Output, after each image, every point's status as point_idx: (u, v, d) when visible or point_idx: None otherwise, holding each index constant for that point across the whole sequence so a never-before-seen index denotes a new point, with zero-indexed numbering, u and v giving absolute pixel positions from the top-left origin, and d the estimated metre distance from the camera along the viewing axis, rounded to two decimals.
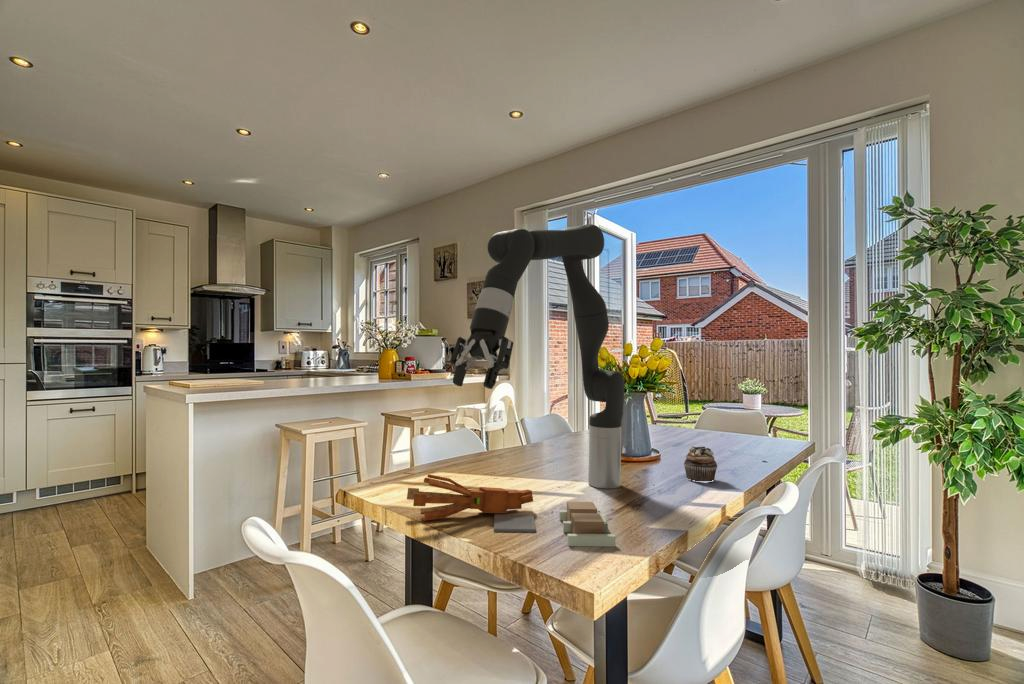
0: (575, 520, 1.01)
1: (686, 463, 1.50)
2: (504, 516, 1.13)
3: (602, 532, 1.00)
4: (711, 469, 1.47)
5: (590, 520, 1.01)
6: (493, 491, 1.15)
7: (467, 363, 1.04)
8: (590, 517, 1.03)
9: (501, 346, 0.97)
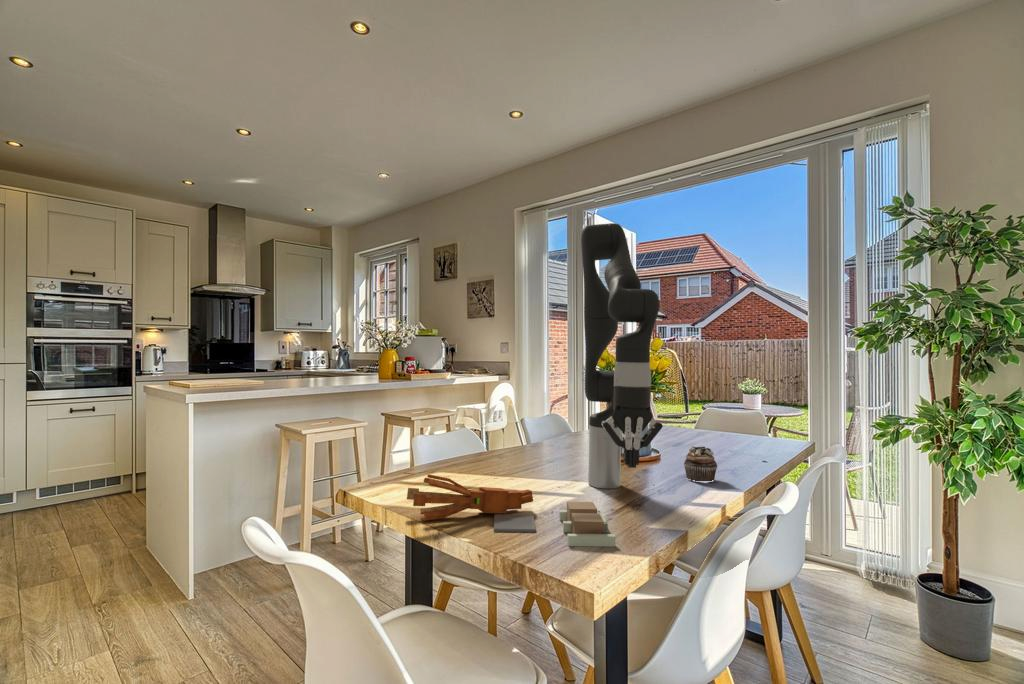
0: (575, 520, 1.01)
1: (686, 463, 1.50)
2: (504, 516, 1.13)
3: (602, 532, 1.00)
4: (711, 469, 1.47)
5: (590, 520, 1.01)
6: (493, 491, 1.14)
7: None
8: (590, 517, 1.03)
9: (654, 430, 1.02)
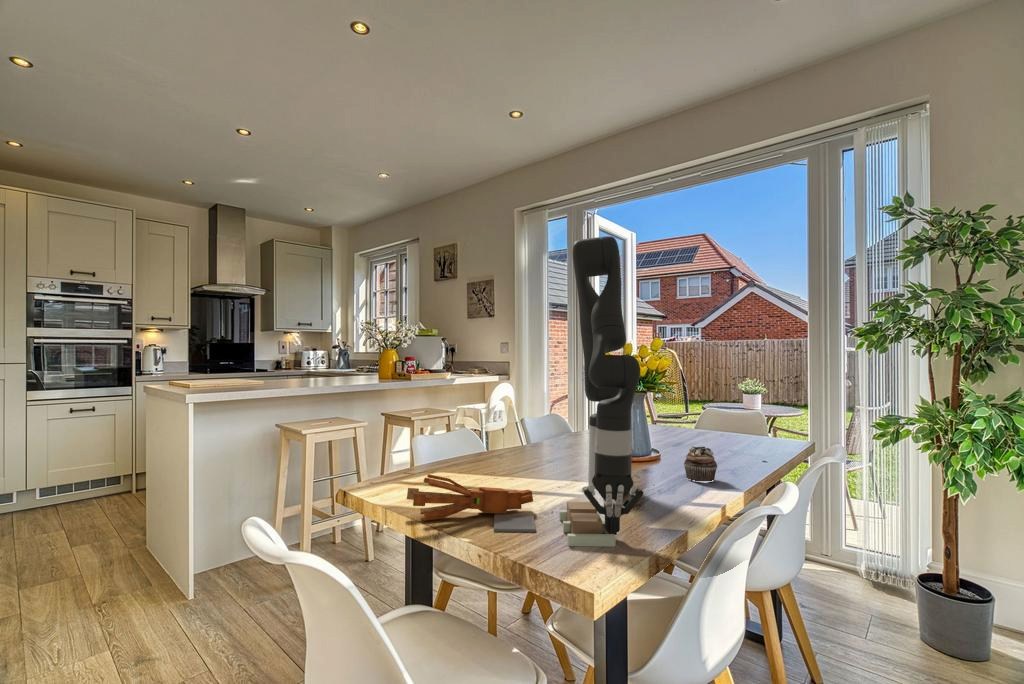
0: (573, 520, 1.01)
1: (686, 463, 1.50)
2: (504, 516, 1.13)
3: (600, 532, 1.00)
4: (711, 469, 1.47)
5: (588, 520, 1.01)
6: (493, 491, 1.14)
7: None
8: (589, 516, 1.03)
9: (635, 498, 1.01)
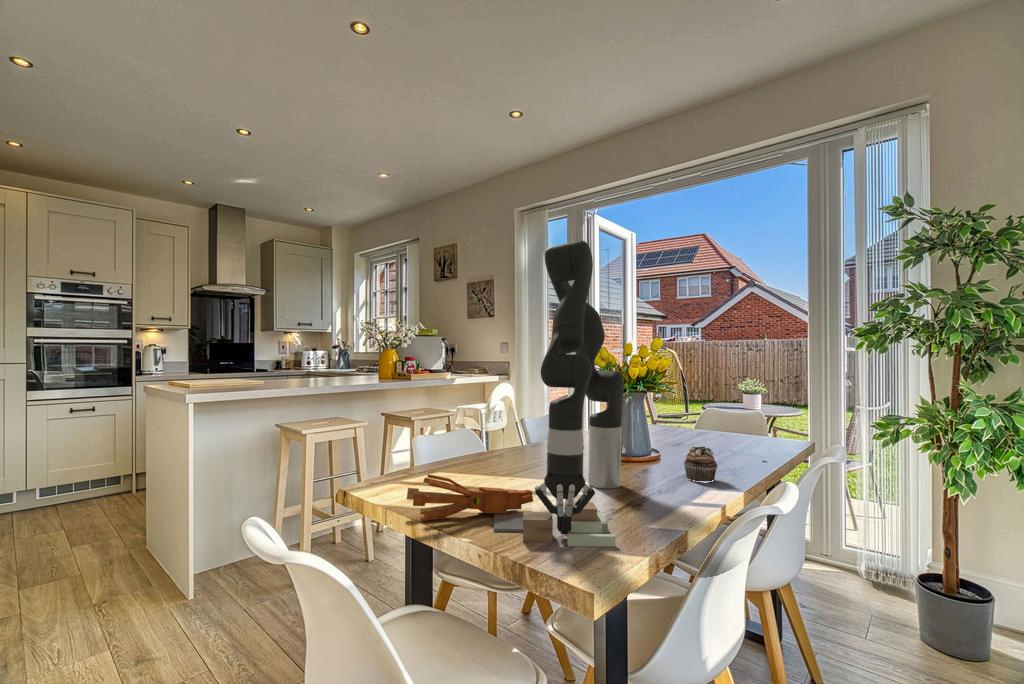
0: (524, 518, 1.01)
1: (686, 463, 1.50)
2: (504, 516, 1.13)
3: (551, 531, 1.00)
4: (711, 469, 1.47)
5: (539, 518, 1.01)
6: (493, 491, 1.14)
7: None
8: (540, 515, 1.03)
9: (586, 497, 1.01)
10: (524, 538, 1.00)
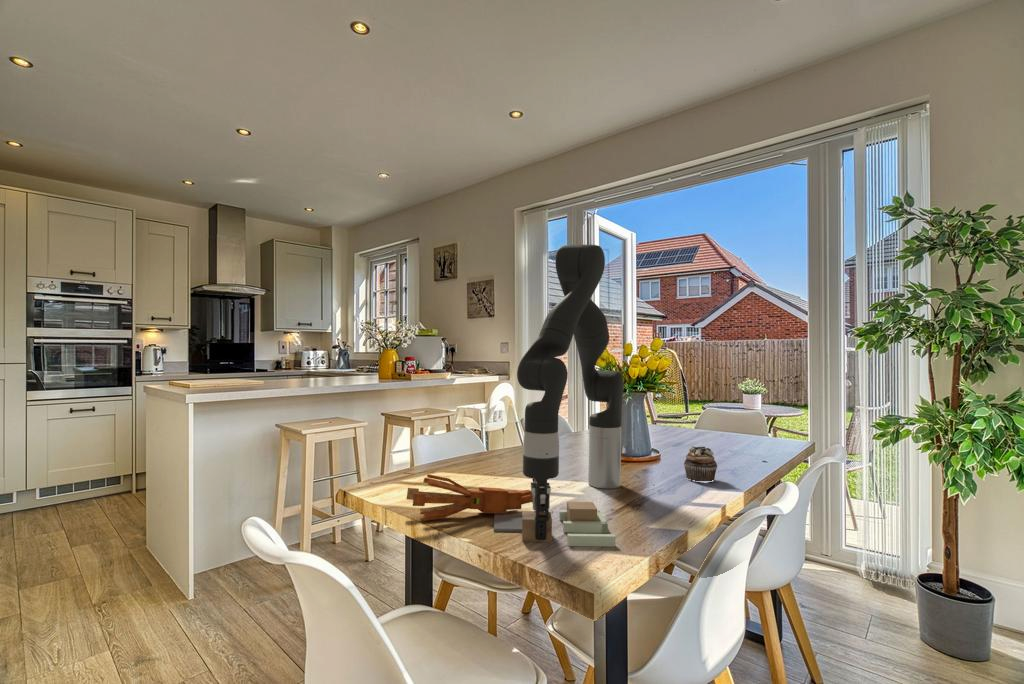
0: (523, 518, 1.01)
1: (686, 463, 1.50)
2: (504, 516, 1.13)
3: (550, 530, 1.00)
4: (711, 469, 1.47)
5: None
6: (493, 491, 1.14)
7: None
8: None
9: (536, 502, 0.97)
10: (523, 538, 1.00)
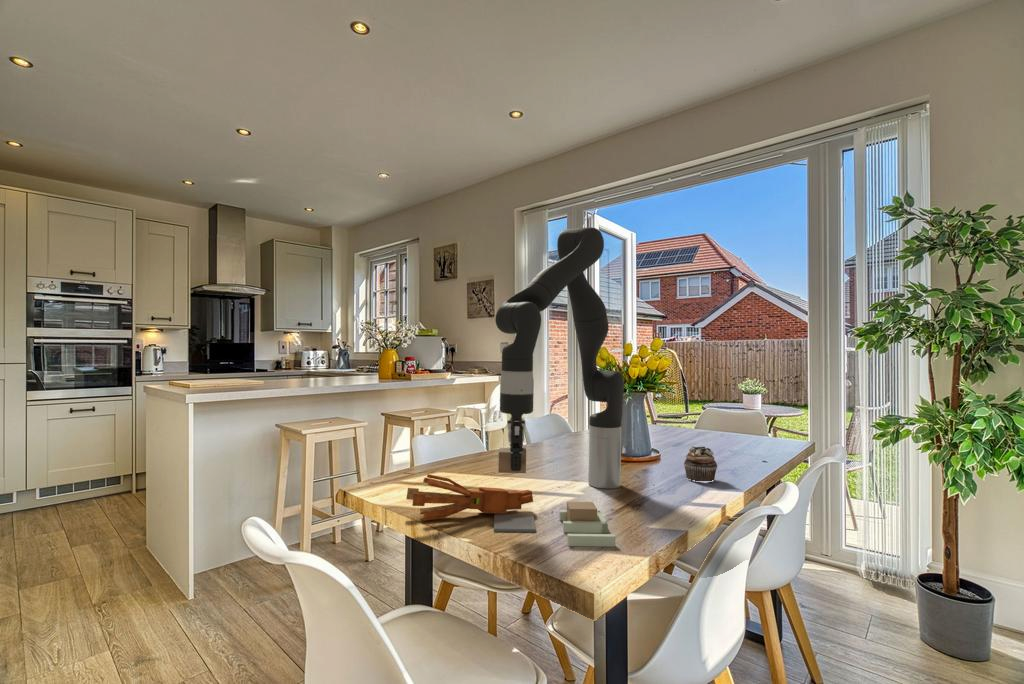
0: (500, 451, 1.08)
1: (686, 463, 1.50)
2: (504, 516, 1.13)
3: (524, 462, 1.07)
4: (711, 469, 1.47)
5: None
6: (493, 491, 1.14)
7: None
8: None
9: None
10: (499, 469, 1.07)
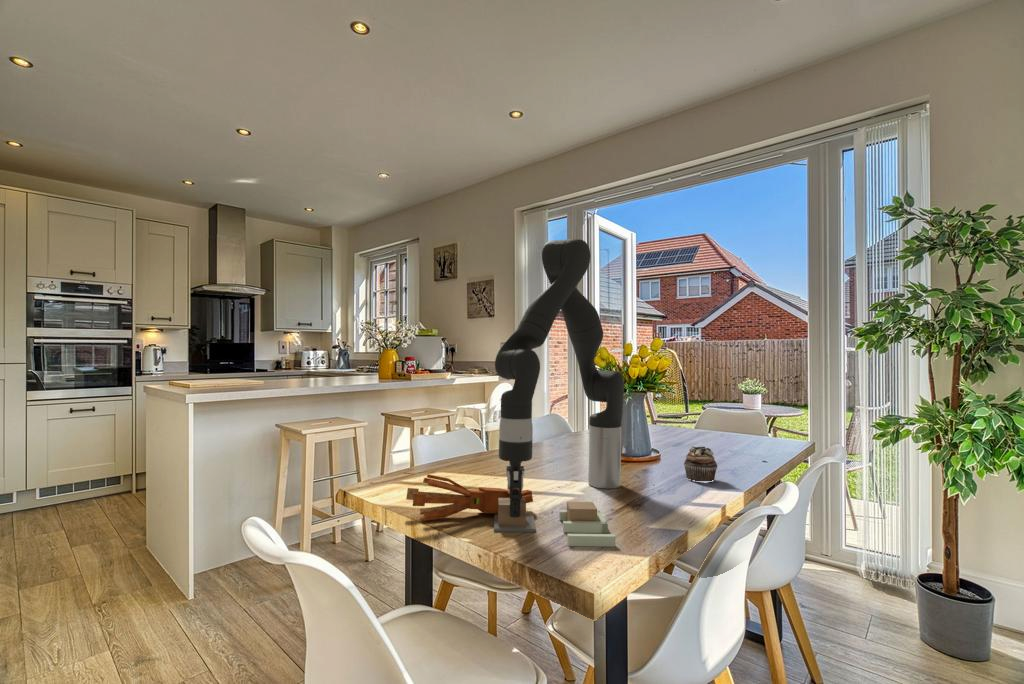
0: (499, 504, 1.08)
1: (686, 463, 1.50)
2: None
3: (524, 515, 1.07)
4: (711, 469, 1.47)
5: None
6: (493, 491, 1.14)
7: None
8: None
9: (510, 480, 1.04)
10: (499, 522, 1.07)
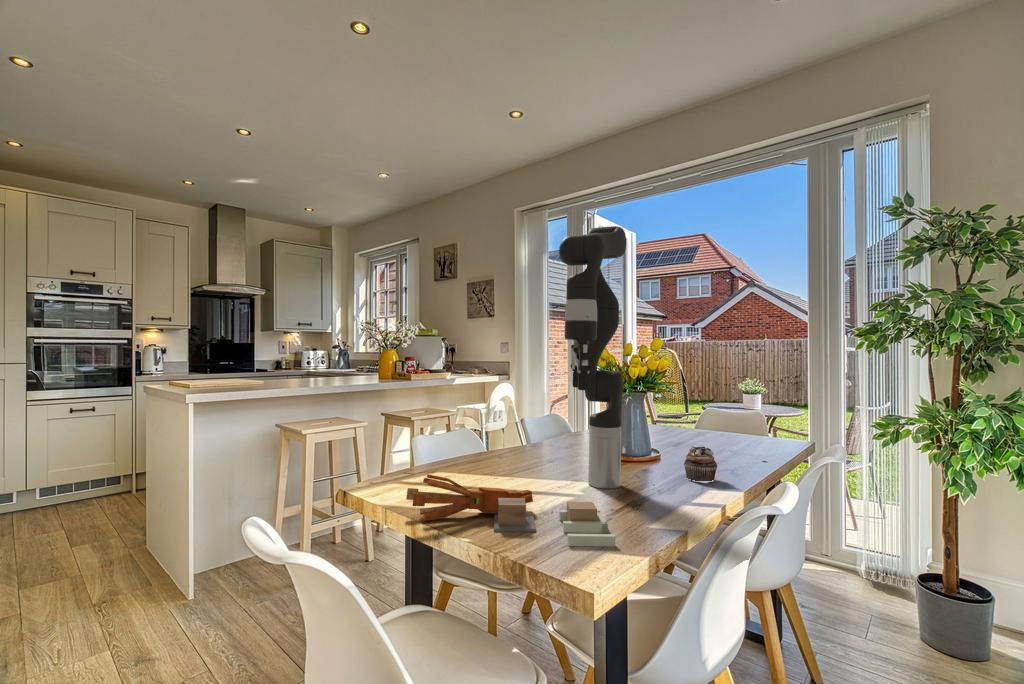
0: (499, 504, 1.08)
1: (686, 463, 1.50)
2: None
3: (524, 515, 1.07)
4: (711, 469, 1.47)
5: (513, 503, 1.08)
6: (493, 491, 1.14)
7: None
8: (514, 501, 1.10)
9: (579, 353, 1.09)
10: (499, 522, 1.07)
